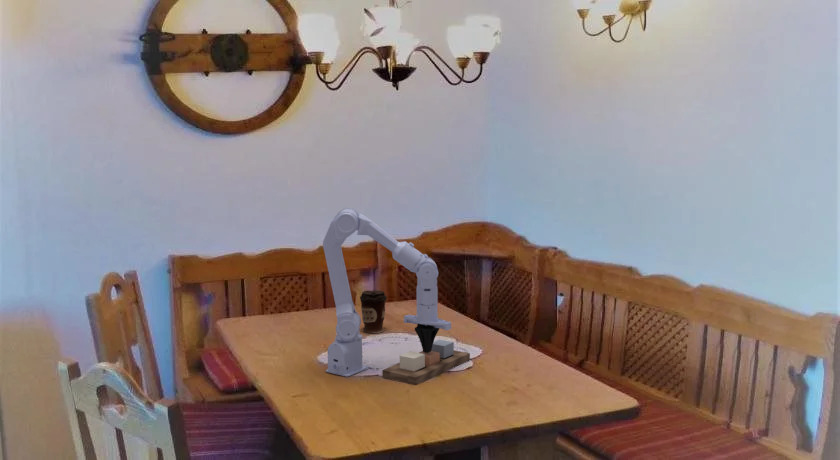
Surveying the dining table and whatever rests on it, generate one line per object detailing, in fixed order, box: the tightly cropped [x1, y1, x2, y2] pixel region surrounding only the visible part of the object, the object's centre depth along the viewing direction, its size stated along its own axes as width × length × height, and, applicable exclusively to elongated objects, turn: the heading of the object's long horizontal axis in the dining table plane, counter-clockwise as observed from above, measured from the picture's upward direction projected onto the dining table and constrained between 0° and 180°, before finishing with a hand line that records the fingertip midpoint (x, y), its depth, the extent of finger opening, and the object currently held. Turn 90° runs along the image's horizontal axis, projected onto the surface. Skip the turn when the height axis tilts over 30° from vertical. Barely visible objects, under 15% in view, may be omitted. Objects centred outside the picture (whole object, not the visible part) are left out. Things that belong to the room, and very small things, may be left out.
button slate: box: [431, 339, 455, 358], centre depth 225 cm, size 5×5×4 cm
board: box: [381, 350, 471, 386], centre depth 220 cm, size 26×11×2 cm, turn 144°
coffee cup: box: [359, 289, 388, 334], centre depth 258 cm, size 9×8×13 cm
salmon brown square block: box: [418, 350, 440, 366], centre depth 220 cm, size 5×5×4 cm
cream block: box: [399, 350, 425, 371], centre depth 214 cm, size 5×5×4 cm
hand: (427, 351), depth 219 cm, fingers closed
